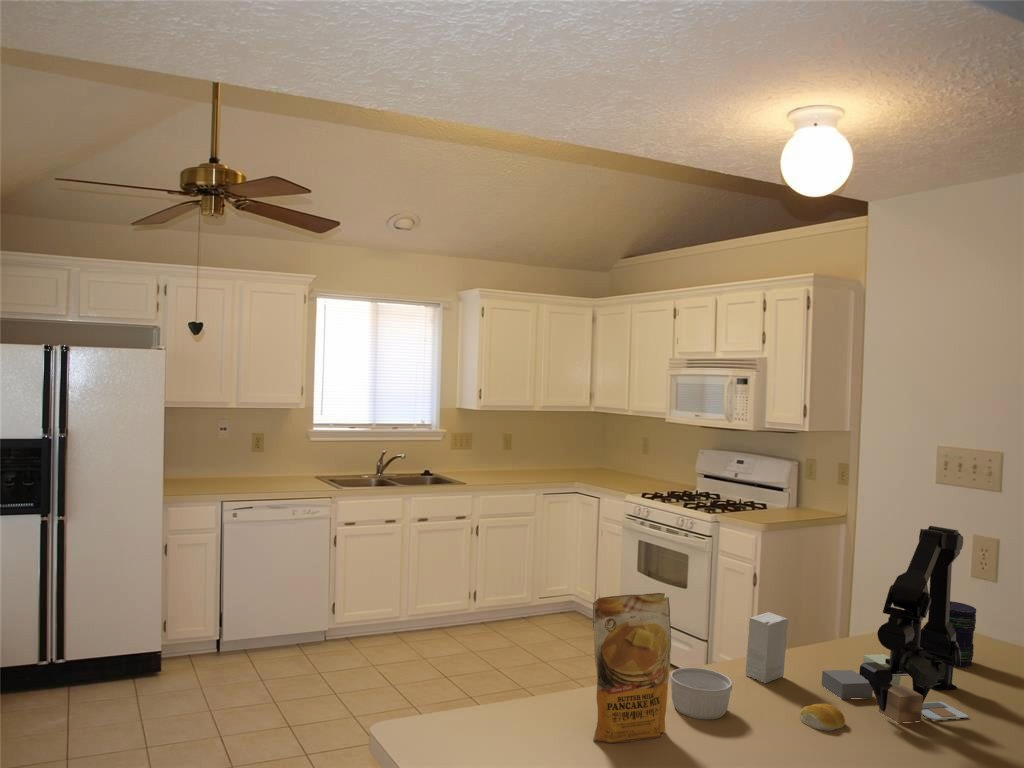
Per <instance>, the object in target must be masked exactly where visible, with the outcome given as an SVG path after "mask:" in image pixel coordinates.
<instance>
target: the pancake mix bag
mask: <svg viewBox="0 0 1024 768" xmlns="http://www.w3.org/2000/svg"><path fill="white" fill-rule="evenodd" d="M665 594H666V593H663V592H656V593H644V594H623V595H611V596H605V597H599V598H597V599H596V600H595V601H593V603H592V604H593V605H592V630H593V632H594V633H593V636H594V638H593V639H594V641H593V642H594V645H593V646H594V660H595V669H596V676H597V677H596V680H597V681H596V704H597V722H596V728H595V731H594V735H593V741H598V742H600V741H601V742H603V743H606V744H617V743H629V742H636V741H641V740H642V741H643V740H651V739H657V738H658V739H659V738H661V734H663V733H664V732H666V721H665V720H666V712H667V703H668V689H669V680H670V670H671V669H670V667H671V653H672V631H671V630H672V629H671V608H670V597H669V596H665Z"/></svg>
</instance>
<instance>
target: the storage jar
mask: <svg viewBox="0 0 1024 768" xmlns="http://www.w3.org/2000/svg"><path fill="white" fill-rule="evenodd" d="M976 613H977V608H975V607H974V606H972V605H969V604H966V603H962V602H958V601H957V602H956V601H953V600H952V601H951V600H950V613H949V622H950V623H951V625H952V627H953V628H954V630H955V631H956V642H958V645H959V649H960V653H961V665H960V666H955V667H954V668H960V669H963V668H964V669H965V668H967V669H969V668H971V667H972V665H973V661H972V660H973V657H974V647H975V645H974V634H975V633H974V632H975V631H976V623H977V615H976ZM951 658H952V657H951Z"/></svg>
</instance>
